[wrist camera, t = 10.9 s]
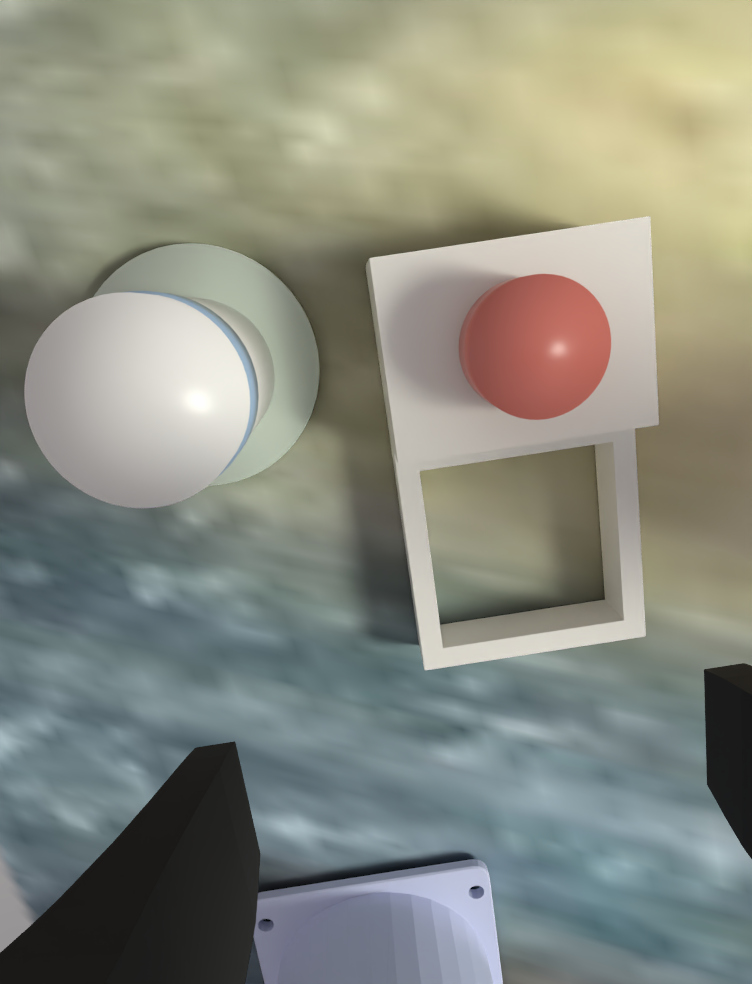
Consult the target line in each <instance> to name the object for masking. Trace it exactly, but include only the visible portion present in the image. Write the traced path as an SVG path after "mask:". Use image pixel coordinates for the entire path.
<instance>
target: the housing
mask: <svg viewBox="0 0 752 984" xmlns="http://www.w3.org/2000/svg"><path fill="white" fill-rule="evenodd" d="M365 267H366V274H367V281H368V288H369V295H370V303H371V310H372V317H373V324H374V331H375V338H376V345H377V352H378V359H379V366H380V373H381V380H382V387H383V394H384V401H385V408H386V415H387V422H388V429H389V436H390V443H391V451H392V458H393V465H394V472H395V479H396V486H397V493H398V500H399V507H400V514H401V521H402V528H403V535H404V542H405V549H406V556H407V563H408V570H409V577H410V584H411V591H412V599H413V606H414V613H415V620H416V627H417V634H418V641H419V647H420V652H421V656H422V660H423V665H424V669H425V670H430V669H437V668H443V667H450V666H456V665H463V664H469V663H476V662H482V661H489V660H495V659H502V658H508V657H515V656H521V655H528V654H534V653H541V652H547V651H554V650H560V649H567V648H573V647H580V646H586V645H593V644H599V643H606V642H612V641H619V640H625V639H632V638H638V637H645V636H646V630H645V611H644V592H643V573H642V553H641V534H640V515H639V495H638V476H637V457H636V438H635V429H636V428H643V427H650V426H656V425H659V410H658V387H657V364H656V341H655V317H654V294H653V271H652V248H651V224H650V216H648V217H641V218H634V219H628V220H621V221H614V222H608V223H601V224H594V225H588V226H581V227H574V228H568V229H561V230H554V231H547V232H541V233H534V234H527V235H521V236H514V237H507V238H501V239H494V240H487V241H480V242H474V243H467V244H460V245H454V246H447V247H440V248H434V249H427V250H420V251H414V252H407V253H400V254H393V255H387V256H380V257H373V258H369V260H368V262H367V264H366V266H365ZM534 274H555V275H560V276H564V277H566V278H569V279H572V280H574V281H576V282H578V283H579V284H581V285H582V286H584V287H585V288H586V289H588V290H589V291H590V292H591V293H592V294H593V295H594V296H595V298H596V299H597V300H598V302H599V303H600V305H601V306H602V308H603V310H604V312H605V314H606V317H607V319H608V323H609V327H610V333H611V352H610V358H609V362H608V366H607V369H606V371H605V374H604V376H603V378H602V380H601V382H600V383H599V385H598V386H597V388H596V389H595V390H594V392H593V393H592V394H591V395H590V396H589V397H588V398H587V399H586V400H585V401H584V402H583V403H582V404H580V405H579V406H577V407H576V408H574V409H573V410H571V411H569V412H567V413H565V414H563V415H560V416H557V417H554V418H549V419H542V420H529V419H523V418H518V417H515V416H512V415H510V414H508V413H506V412H504V411H502V410H500V409H499V408H497V407H495V406H494V405H492V404H491V403H489V402H488V401H486V400H485V399H483V398H482V397H481V396H480V395H478V394H477V393H476V392H475V390H474V389H473V388H472V387H471V385H470V384H469V382H468V381H467V379H466V377H465V375H464V373H463V370H462V367H461V364H460V358H459V337H460V332H461V328H462V325H463V322H464V320H465V317H466V315H467V313H468V312H469V310H470V309H471V307H472V306H473V304H474V303H475V302H476V301H477V300H478V298H479V297H480V296H482V295H483V294H484V293H485V292H486V291H487V290H489V289H490V288H492V287H493V286H495V285H497V284H499V283H501V282H504V281H507V280H509V279H514V278H518V277H524V276H529V275H534ZM589 445H595V458H596V473H597V488H598V503H599V518H600V533H601V548H602V563H603V578H604V592H605V600H598V601H592V602H585V603H579V604H572V605H566V606H559V607H553V608H546V609H540V610H533V611H527V612H520V613H514V614H507V615H501V616H494V617H488V618H481V619H475V620H468V621H462V622H455V623H449V624H442V625H440V622H439V614H438V607H437V599H436V592H435V584H434V576H433V569H432V561H431V554H430V546H429V539H428V531H427V524H426V516H425V509H424V501H423V493H422V486H421V478H420V471H424V470H431V469H437V468H444V467H450V466H457V465H464V464H470V463H477V462H483V461H490V460H497V459H503V458H510V457H516V456H523V455H530V454H536V453H543V452H549V451H556V450H562V449H569V448H576V447H582V446H589Z"/></svg>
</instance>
